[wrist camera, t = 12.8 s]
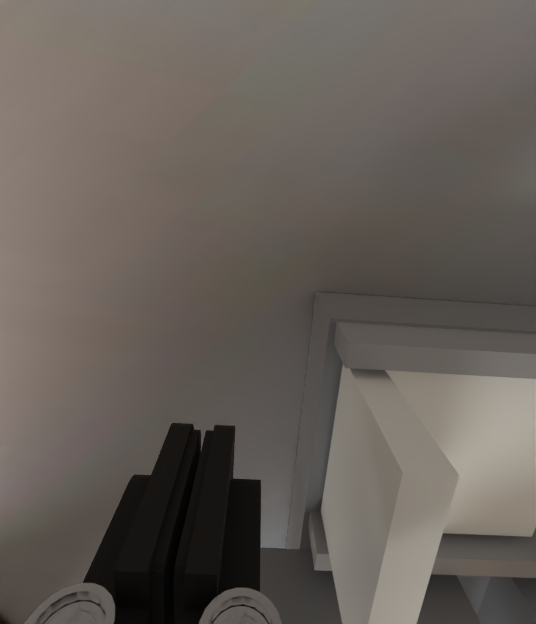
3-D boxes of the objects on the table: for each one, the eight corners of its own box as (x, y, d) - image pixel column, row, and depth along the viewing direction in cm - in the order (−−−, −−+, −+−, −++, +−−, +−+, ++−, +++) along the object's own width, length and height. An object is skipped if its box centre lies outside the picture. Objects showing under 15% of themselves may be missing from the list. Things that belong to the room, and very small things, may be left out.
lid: (320, 510, 13) (354, 685, 8) (343, 357, 11) (402, 472, 6) (518, 519, 13) (655, 692, 8) (572, 370, 11) (783, 490, 7)
